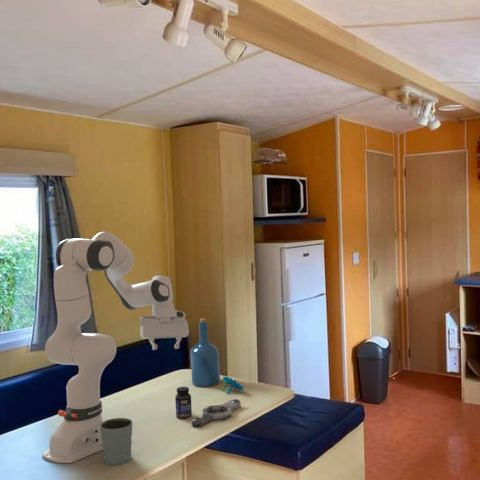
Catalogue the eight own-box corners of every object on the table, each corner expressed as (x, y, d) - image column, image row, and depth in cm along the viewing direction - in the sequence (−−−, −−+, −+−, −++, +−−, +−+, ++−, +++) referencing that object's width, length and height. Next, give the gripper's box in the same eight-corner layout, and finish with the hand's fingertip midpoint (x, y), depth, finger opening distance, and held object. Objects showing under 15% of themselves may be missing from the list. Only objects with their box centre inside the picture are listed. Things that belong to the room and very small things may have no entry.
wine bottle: (226, 381, 261) (223, 317, 259) (207, 389, 250) (204, 322, 249) (204, 377, 269) (201, 315, 267) (185, 384, 259) (181, 320, 257)
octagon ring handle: (204, 430, 203) (204, 423, 203) (183, 424, 210) (182, 417, 210) (248, 408, 224) (248, 401, 224) (228, 403, 231) (227, 397, 230)
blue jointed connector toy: (248, 388, 243) (233, 375, 239) (241, 400, 240) (226, 387, 237) (234, 386, 252) (218, 374, 248) (227, 398, 249) (212, 385, 246)
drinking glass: (96, 460, 183) (94, 424, 182) (123, 449, 190) (120, 415, 189) (113, 469, 175) (111, 431, 175) (140, 458, 183) (138, 422, 182)
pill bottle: (182, 420, 214) (180, 392, 213) (173, 416, 219) (171, 388, 218) (195, 416, 218) (193, 388, 217) (185, 412, 223) (184, 384, 222)
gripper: (142, 313, 223) (144, 348, 219) (189, 313, 233) (192, 346, 229) (136, 317, 229) (138, 351, 224) (183, 316, 239) (185, 349, 234)
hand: (166, 348), depth 227 cm, fingers open, 8 cm apart
